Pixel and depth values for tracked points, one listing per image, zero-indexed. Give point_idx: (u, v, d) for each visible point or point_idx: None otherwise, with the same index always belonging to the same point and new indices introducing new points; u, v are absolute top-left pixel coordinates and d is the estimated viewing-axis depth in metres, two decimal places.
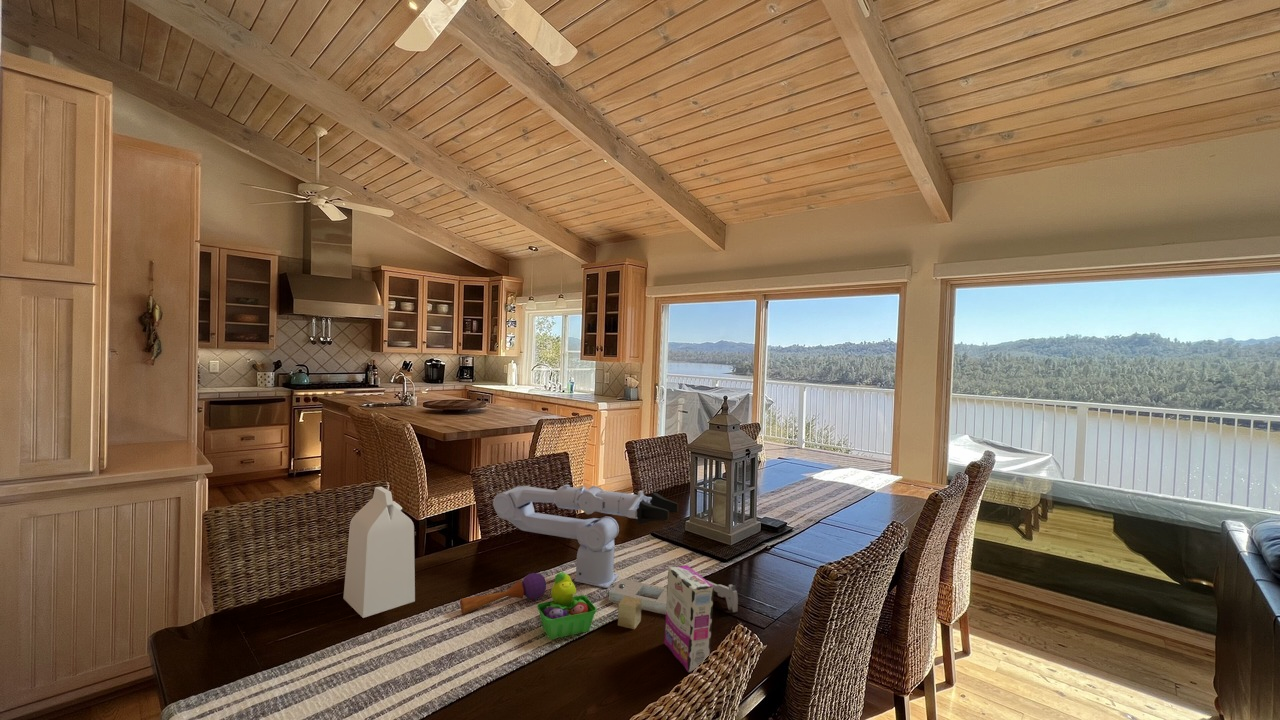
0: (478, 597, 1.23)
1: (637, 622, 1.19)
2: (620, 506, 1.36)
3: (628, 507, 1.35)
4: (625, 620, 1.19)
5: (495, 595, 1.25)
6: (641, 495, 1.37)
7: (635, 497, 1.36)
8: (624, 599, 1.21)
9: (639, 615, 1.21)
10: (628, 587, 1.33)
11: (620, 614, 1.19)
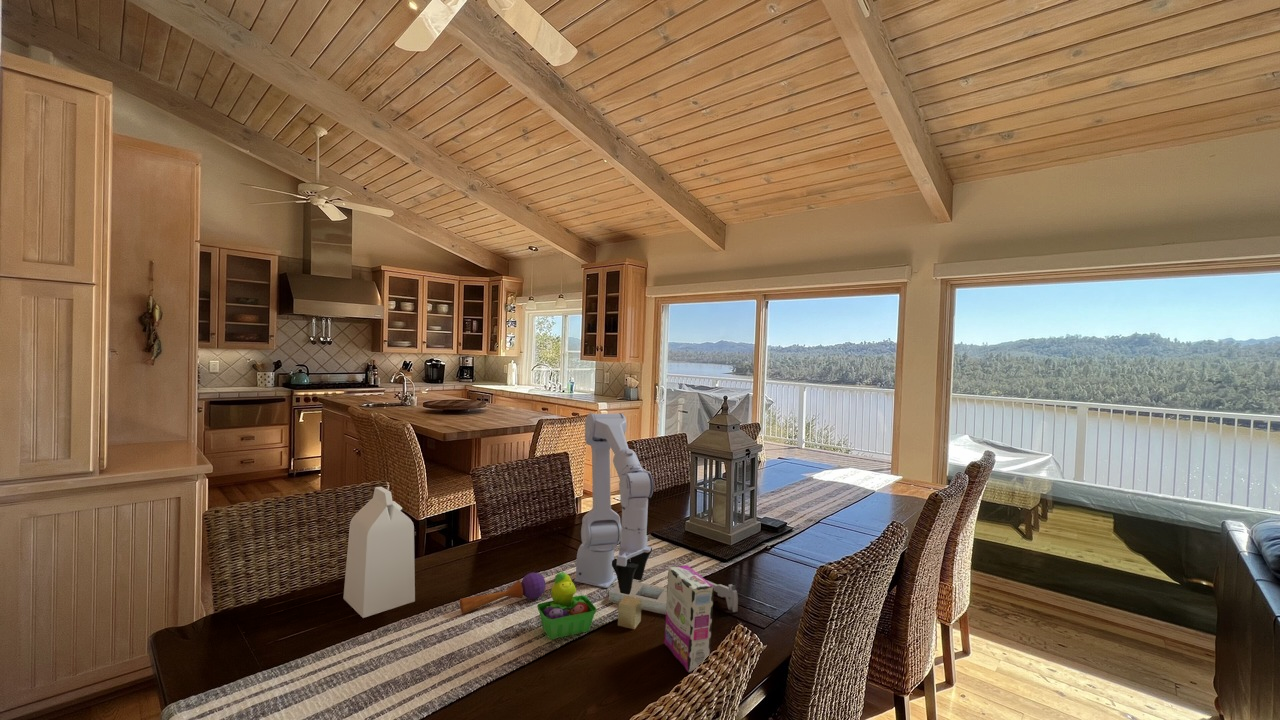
0: (478, 597, 1.23)
1: (637, 622, 1.19)
2: (630, 532, 1.17)
3: (629, 542, 1.17)
4: (625, 620, 1.19)
5: (494, 595, 1.25)
6: None
7: (642, 546, 1.18)
8: (624, 599, 1.21)
9: (639, 615, 1.21)
10: None
11: (620, 614, 1.19)
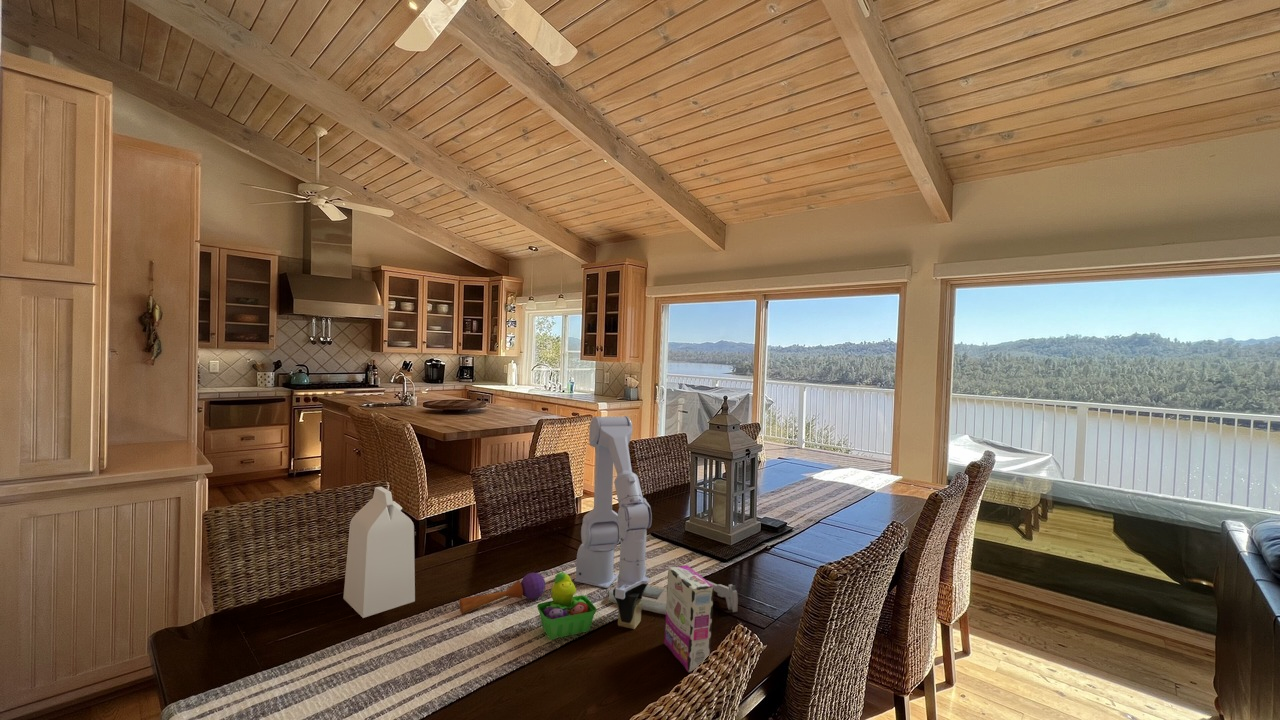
0: (477, 597, 1.23)
1: (637, 622, 1.19)
2: (628, 563, 1.17)
3: (628, 573, 1.17)
4: None
5: (494, 595, 1.25)
6: None
7: (640, 578, 1.18)
8: None
9: (639, 615, 1.21)
10: None
11: None
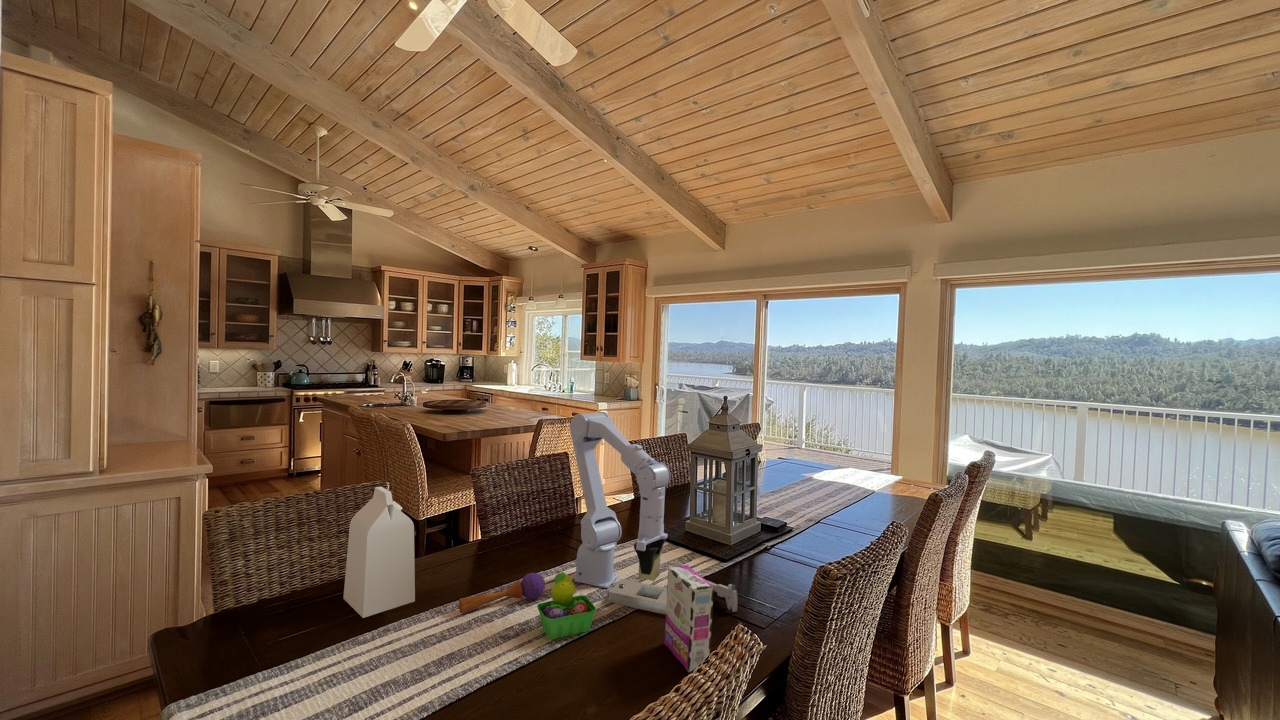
0: (477, 597, 1.23)
1: (656, 575, 1.28)
2: (648, 519, 1.26)
3: (648, 528, 1.26)
4: None
5: (493, 595, 1.25)
6: None
7: (659, 533, 1.27)
8: None
9: (658, 569, 1.29)
10: (628, 587, 1.33)
11: None
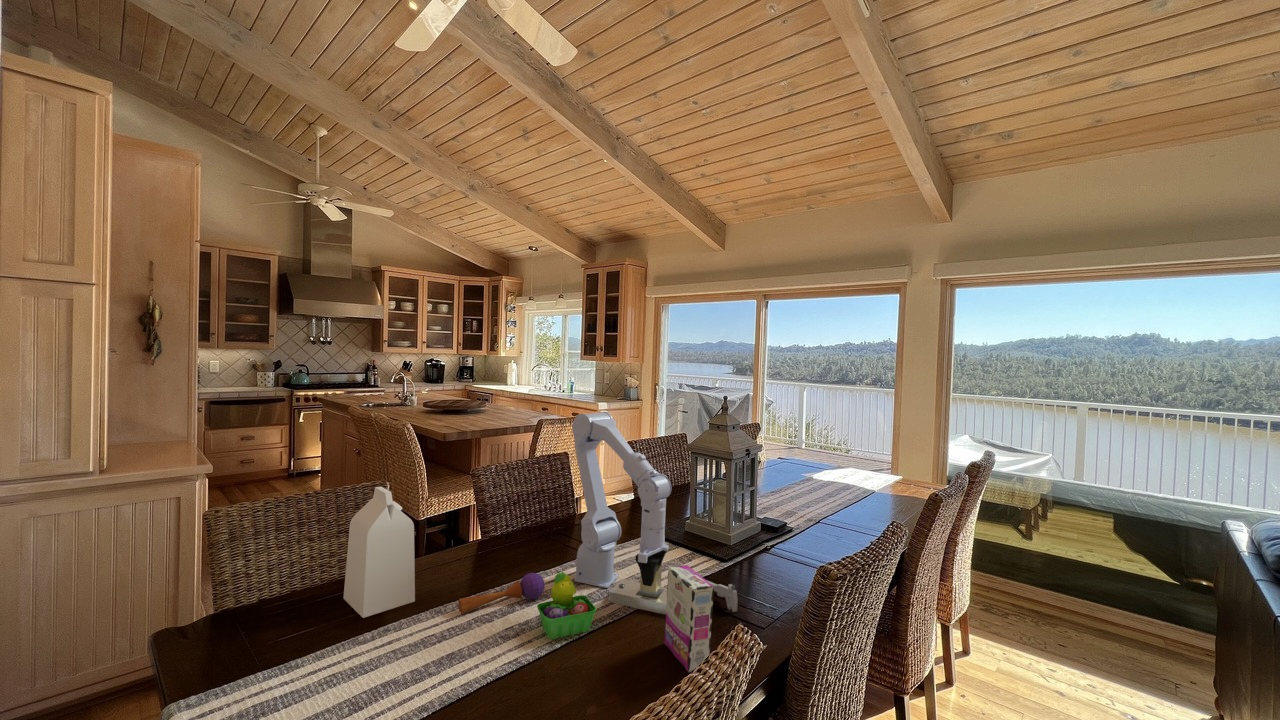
0: (476, 597, 1.23)
1: (658, 586, 1.29)
2: (649, 531, 1.27)
3: (649, 540, 1.27)
4: None
5: (493, 595, 1.25)
6: None
7: (660, 545, 1.28)
8: None
9: (659, 580, 1.30)
10: (628, 587, 1.33)
11: None
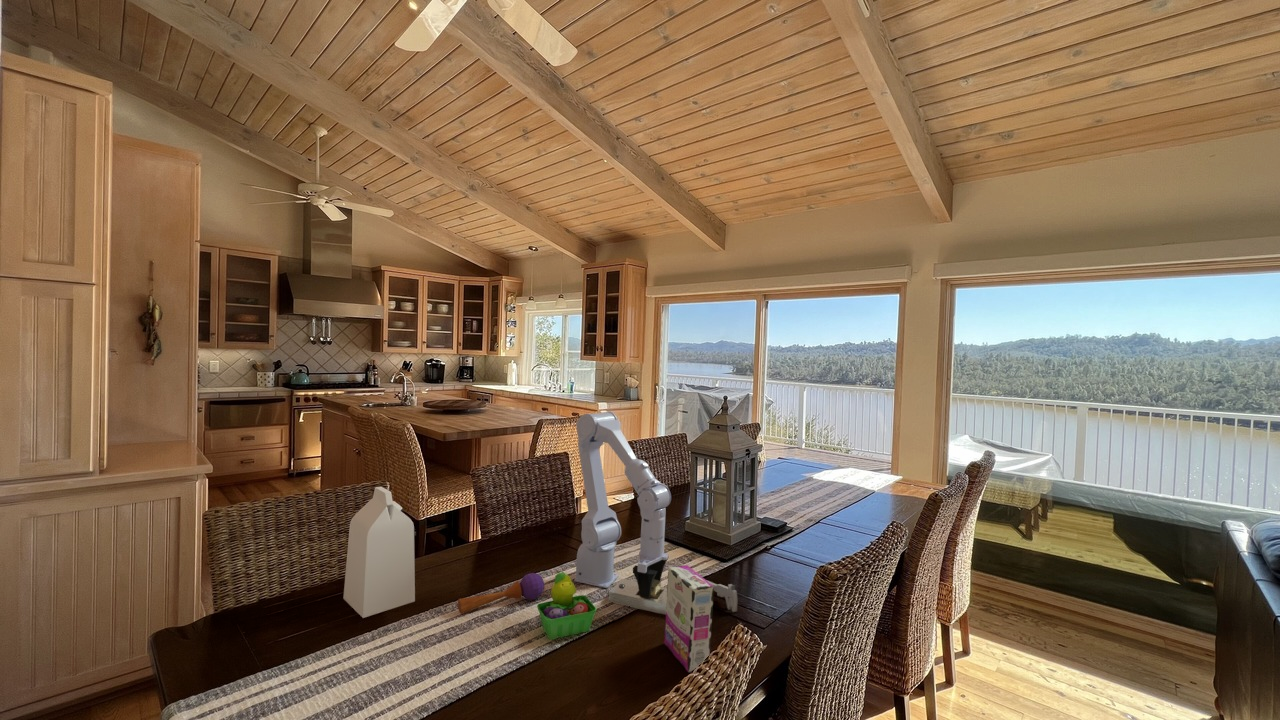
0: (476, 597, 1.23)
1: None
2: (649, 541, 1.27)
3: (649, 550, 1.27)
4: None
5: (493, 595, 1.25)
6: None
7: (660, 554, 1.28)
8: None
9: (658, 595, 1.30)
10: (628, 587, 1.33)
11: None
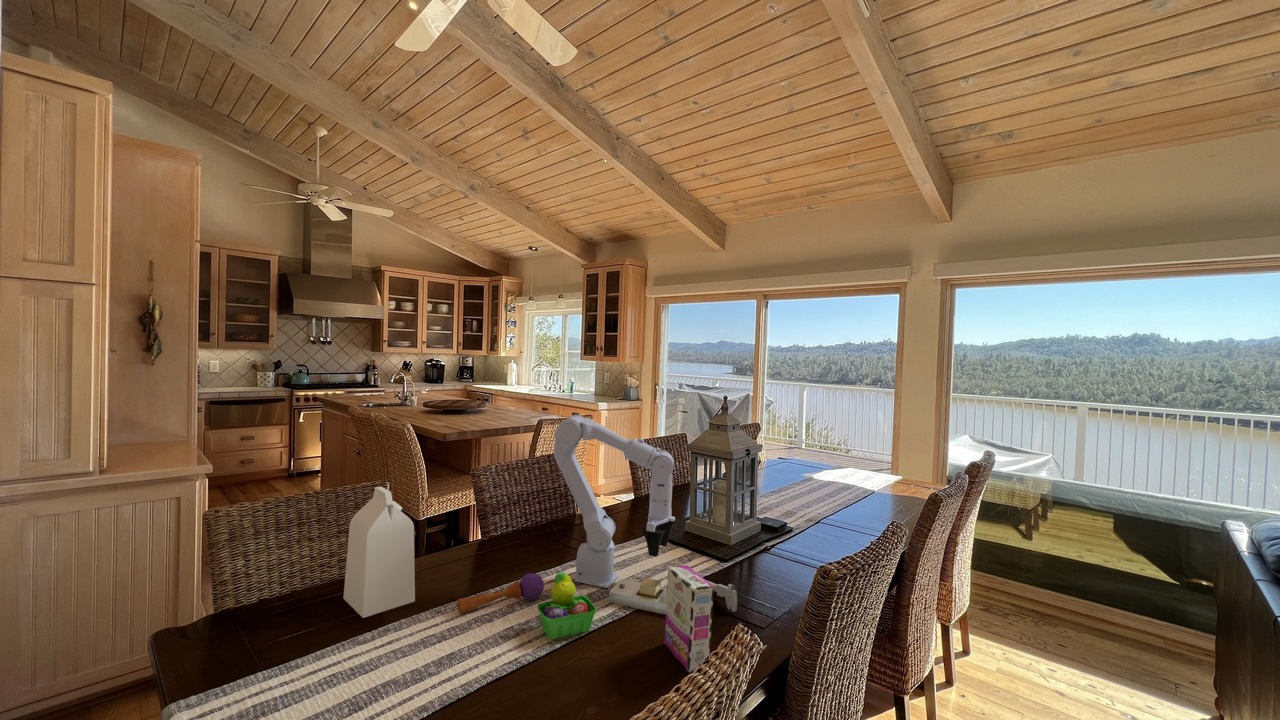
0: (475, 597, 1.23)
1: None
2: (657, 503, 1.37)
3: (657, 512, 1.37)
4: None
5: (492, 595, 1.25)
6: None
7: (667, 516, 1.37)
8: (644, 580, 1.31)
9: (658, 595, 1.30)
10: (628, 587, 1.33)
11: (641, 594, 1.29)
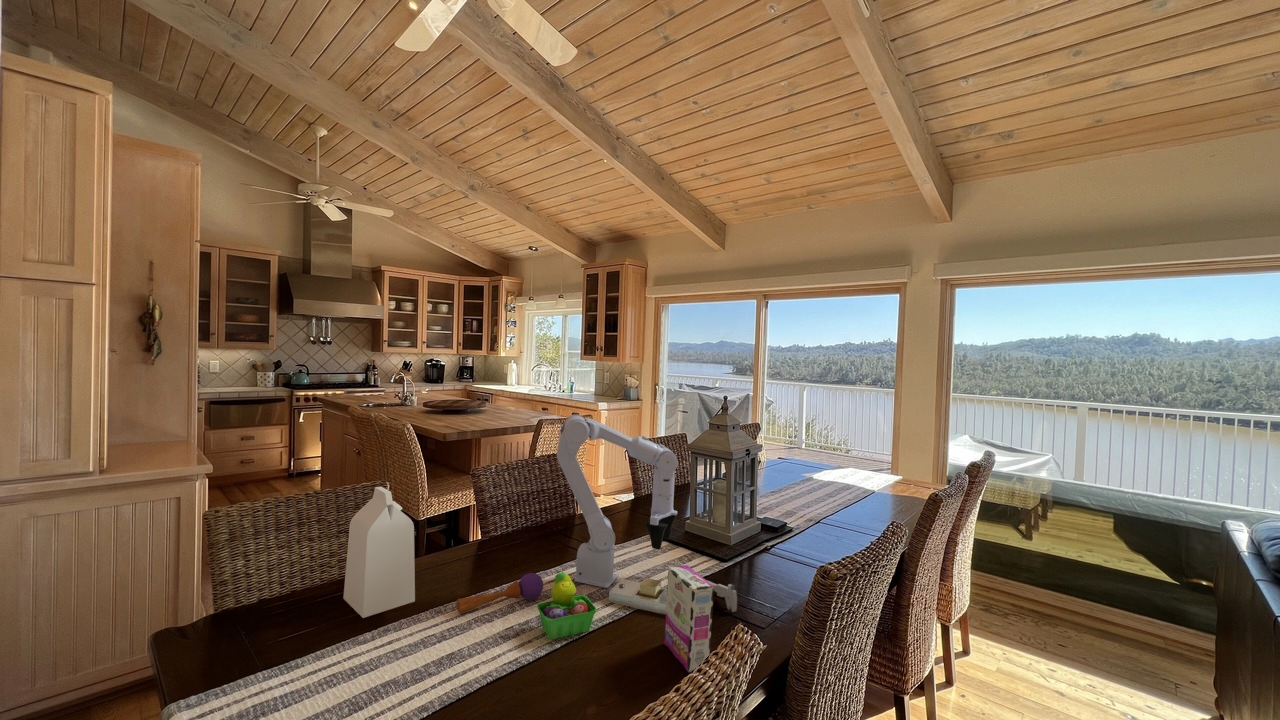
0: (475, 597, 1.23)
1: None
2: (660, 497, 1.41)
3: (660, 506, 1.41)
4: None
5: (491, 595, 1.25)
6: None
7: (670, 510, 1.42)
8: (644, 580, 1.31)
9: (658, 595, 1.30)
10: (628, 587, 1.33)
11: (641, 594, 1.29)
